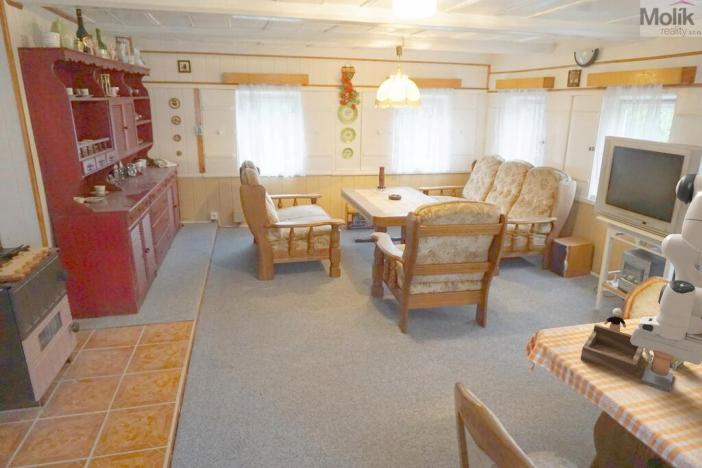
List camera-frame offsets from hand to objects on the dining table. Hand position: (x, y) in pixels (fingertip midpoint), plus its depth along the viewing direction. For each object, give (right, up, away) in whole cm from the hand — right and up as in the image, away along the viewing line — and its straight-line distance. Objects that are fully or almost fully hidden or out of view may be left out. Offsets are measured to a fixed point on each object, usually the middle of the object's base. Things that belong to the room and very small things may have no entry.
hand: (661, 364), depth 154 cm
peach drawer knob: (0, -3, +1) cm, 3 cm away
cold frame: (-9, -1, +14) cm, 17 cm away
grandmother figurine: (-1, +3, +28) cm, 28 cm away
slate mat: (0, -6, +2) cm, 6 cm away
